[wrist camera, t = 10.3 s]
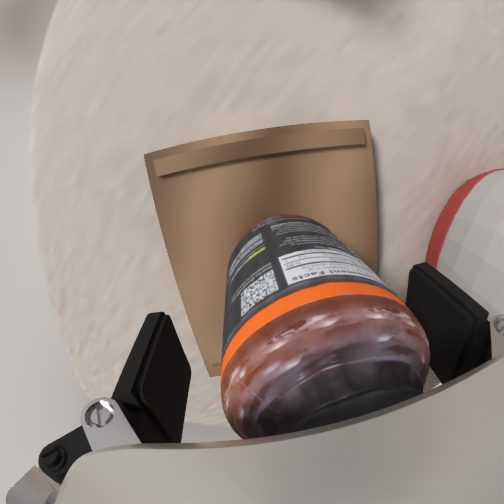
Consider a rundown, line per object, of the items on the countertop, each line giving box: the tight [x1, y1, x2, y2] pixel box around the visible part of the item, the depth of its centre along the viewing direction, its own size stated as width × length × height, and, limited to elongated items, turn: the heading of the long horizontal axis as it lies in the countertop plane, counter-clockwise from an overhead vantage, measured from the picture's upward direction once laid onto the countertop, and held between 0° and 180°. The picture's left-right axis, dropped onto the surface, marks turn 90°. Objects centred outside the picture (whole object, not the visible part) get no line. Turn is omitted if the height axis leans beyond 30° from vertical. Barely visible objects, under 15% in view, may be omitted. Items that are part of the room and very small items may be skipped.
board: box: [144, 120, 378, 377], centre depth 15 cm, size 11×14×2 cm
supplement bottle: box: [221, 214, 430, 439], centre depth 9 cm, size 6×6×11 cm
